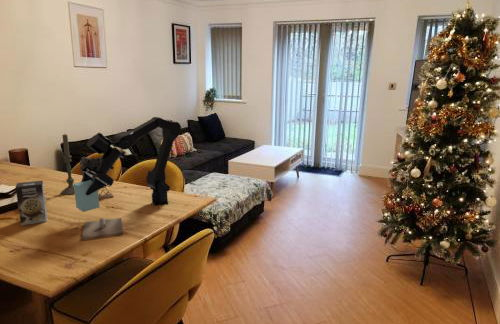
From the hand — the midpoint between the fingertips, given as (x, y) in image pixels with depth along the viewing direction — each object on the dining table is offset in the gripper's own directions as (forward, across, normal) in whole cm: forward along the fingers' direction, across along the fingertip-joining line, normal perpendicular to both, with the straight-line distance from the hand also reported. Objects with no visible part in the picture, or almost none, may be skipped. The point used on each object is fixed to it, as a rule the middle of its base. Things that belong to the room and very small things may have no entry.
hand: (82, 192), depth 137 cm
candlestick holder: (+2, -44, +18) cm, 48 cm away
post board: (+8, +9, +11) cm, 16 cm away
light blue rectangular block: (+4, 0, +6) cm, 7 cm away
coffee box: (+19, -18, 0) cm, 26 cm away
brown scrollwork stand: (-4, -25, +23) cm, 34 cm away
